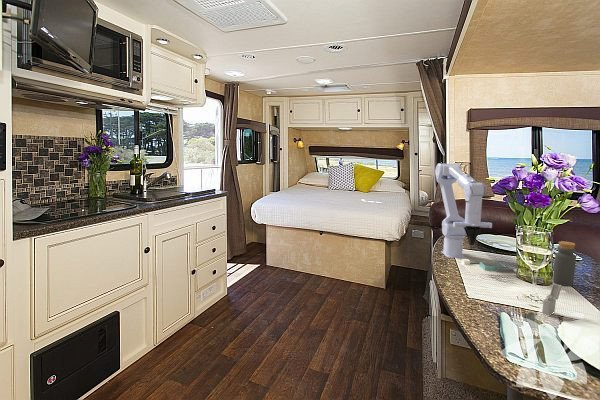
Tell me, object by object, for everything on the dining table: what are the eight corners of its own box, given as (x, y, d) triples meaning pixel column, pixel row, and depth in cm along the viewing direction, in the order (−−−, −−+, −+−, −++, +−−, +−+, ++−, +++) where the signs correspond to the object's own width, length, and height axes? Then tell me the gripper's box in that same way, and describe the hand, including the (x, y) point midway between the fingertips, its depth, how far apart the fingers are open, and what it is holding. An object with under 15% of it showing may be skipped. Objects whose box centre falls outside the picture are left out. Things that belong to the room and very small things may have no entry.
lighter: (548, 316, 95) (551, 289, 94) (541, 313, 96) (544, 287, 95) (559, 310, 98) (561, 284, 97) (552, 307, 100) (554, 282, 99)
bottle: (577, 287, 115) (581, 245, 113) (558, 285, 116) (562, 244, 114) (567, 280, 121) (571, 241, 119) (549, 279, 122) (553, 240, 120)
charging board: (472, 275, 127) (472, 269, 127) (459, 263, 141) (460, 258, 141) (516, 276, 125) (517, 271, 125) (499, 264, 139) (499, 259, 139)
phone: (484, 270, 131) (484, 265, 130) (479, 266, 136) (479, 261, 135) (506, 271, 130) (506, 266, 129) (500, 266, 135) (500, 262, 134)
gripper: (458, 213, 131) (456, 246, 133) (496, 214, 130) (494, 247, 131) (452, 210, 138) (450, 242, 140) (488, 211, 137) (486, 242, 138)
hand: (471, 244), depth 136 cm, fingers closed
